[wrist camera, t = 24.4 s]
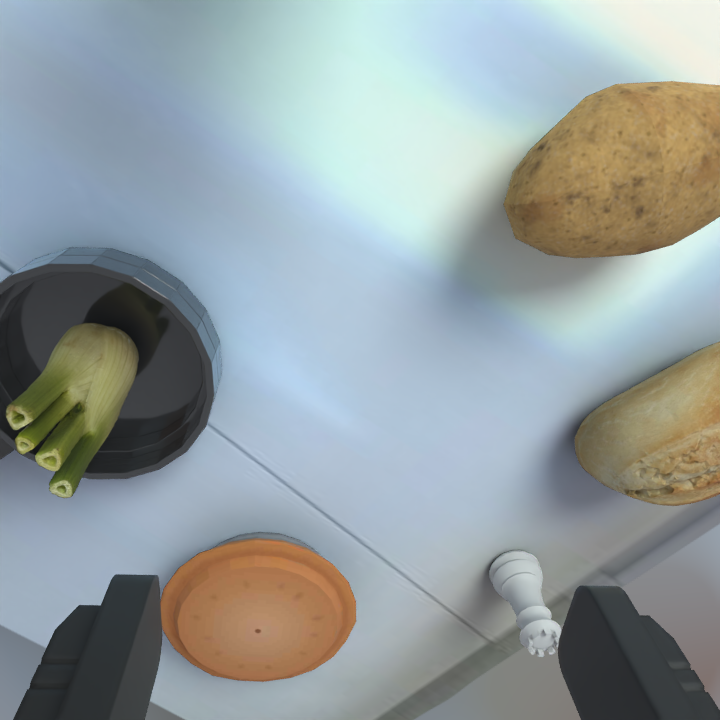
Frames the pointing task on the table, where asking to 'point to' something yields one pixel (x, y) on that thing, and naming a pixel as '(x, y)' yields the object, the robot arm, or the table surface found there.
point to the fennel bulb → (75, 401)
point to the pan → (141, 323)
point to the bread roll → (660, 435)
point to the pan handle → (4, 448)
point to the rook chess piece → (526, 599)
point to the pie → (258, 608)
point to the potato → (621, 172)
